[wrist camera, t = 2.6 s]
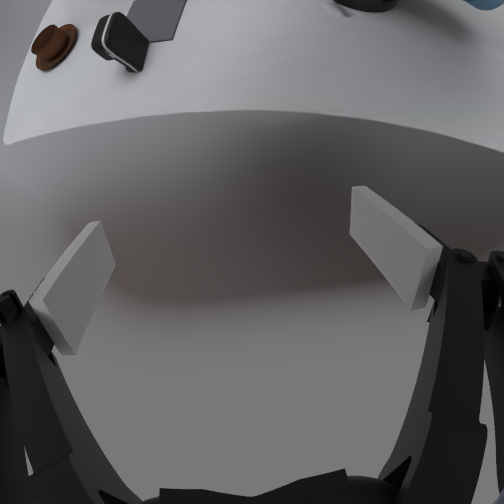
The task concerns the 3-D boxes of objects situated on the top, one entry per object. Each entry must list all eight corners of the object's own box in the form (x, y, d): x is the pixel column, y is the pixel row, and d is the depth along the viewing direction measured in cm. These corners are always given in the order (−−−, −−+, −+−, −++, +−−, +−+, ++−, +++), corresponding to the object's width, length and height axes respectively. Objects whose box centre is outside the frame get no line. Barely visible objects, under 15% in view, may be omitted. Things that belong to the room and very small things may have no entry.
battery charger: (131, 43, 37) (97, 13, 26) (150, 39, 37) (117, 6, 25) (123, 75, 38) (84, 50, 27) (142, 72, 38) (105, 43, 27)
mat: (134, 2, 37) (133, 1, 36) (190, -9, 35) (189, -10, 35) (114, 49, 38) (113, 48, 38) (172, 39, 37) (171, 38, 36)
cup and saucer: (33, 73, 41) (16, 64, 35) (57, 30, 39) (42, 20, 33) (62, 71, 40) (44, 61, 34) (89, 25, 38) (73, 12, 32)
